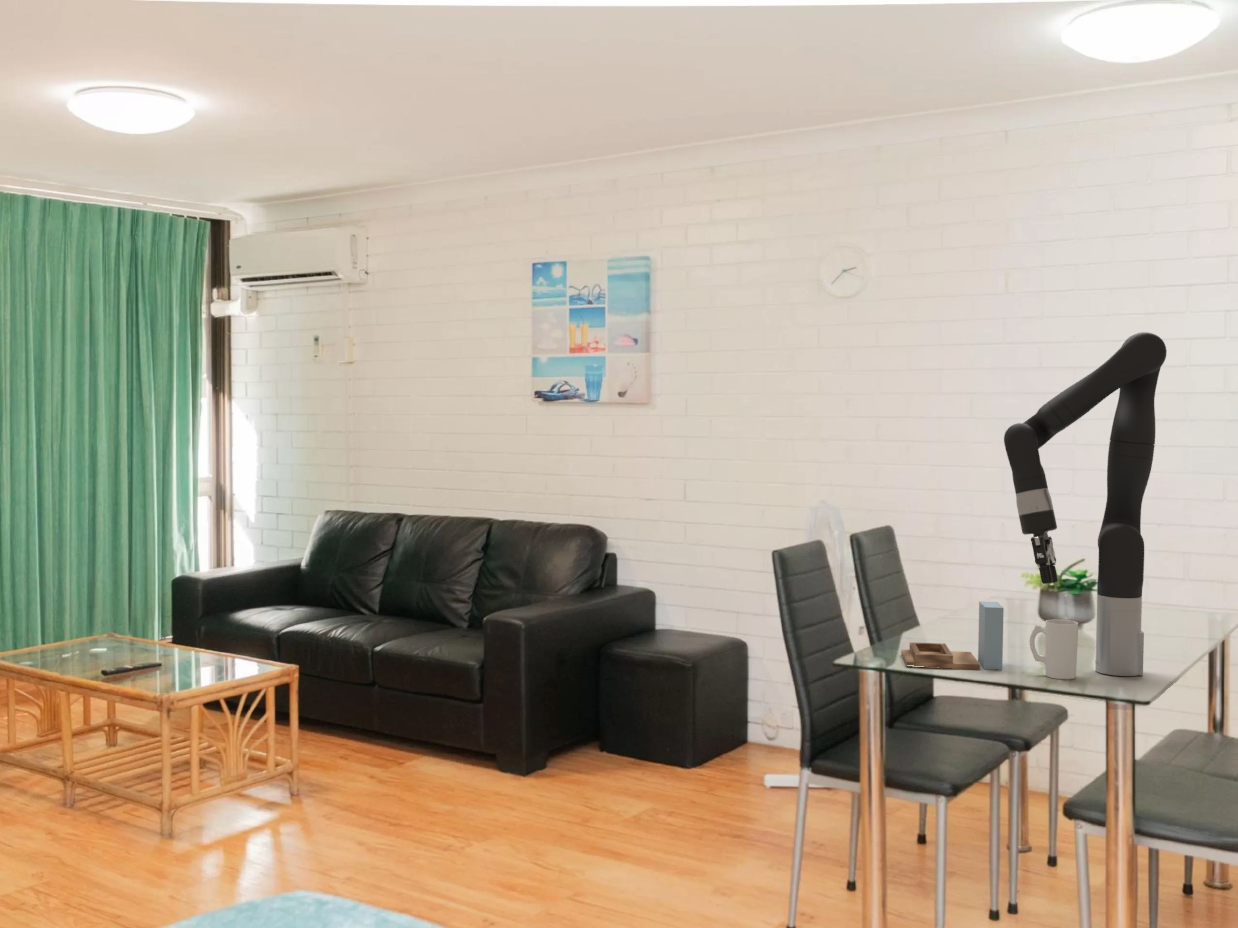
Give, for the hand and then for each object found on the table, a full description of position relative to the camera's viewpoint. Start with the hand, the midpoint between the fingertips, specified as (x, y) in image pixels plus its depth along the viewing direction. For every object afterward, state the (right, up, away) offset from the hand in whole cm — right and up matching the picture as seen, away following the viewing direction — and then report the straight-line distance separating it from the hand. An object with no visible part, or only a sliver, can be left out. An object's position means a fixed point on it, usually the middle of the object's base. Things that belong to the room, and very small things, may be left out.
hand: (1050, 582), depth 272 cm
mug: (-1, -20, -4) cm, 21 cm away
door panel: (-11, -19, +7) cm, 24 cm away
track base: (-22, -19, +10) cm, 31 cm away
